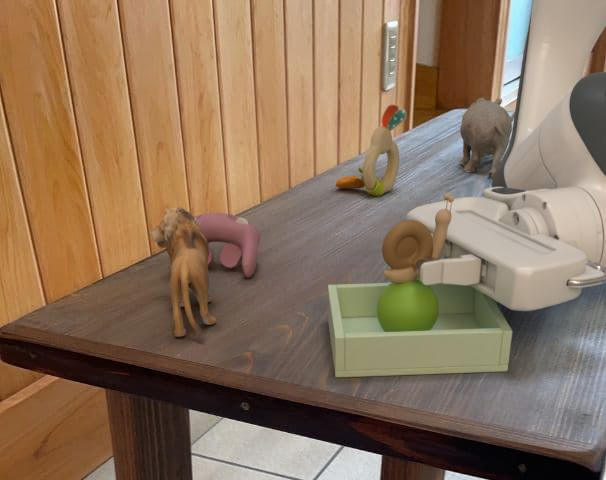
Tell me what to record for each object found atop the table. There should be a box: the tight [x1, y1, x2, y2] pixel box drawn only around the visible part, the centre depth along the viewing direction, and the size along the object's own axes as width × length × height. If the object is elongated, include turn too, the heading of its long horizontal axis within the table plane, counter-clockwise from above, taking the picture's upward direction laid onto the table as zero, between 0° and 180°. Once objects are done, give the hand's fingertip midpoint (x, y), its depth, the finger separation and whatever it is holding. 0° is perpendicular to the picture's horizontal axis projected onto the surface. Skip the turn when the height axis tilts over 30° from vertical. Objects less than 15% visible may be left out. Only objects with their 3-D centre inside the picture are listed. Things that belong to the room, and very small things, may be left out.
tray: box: [327, 282, 513, 378], centre depth 76 cm, size 15×13×4 cm
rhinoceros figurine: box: [459, 97, 515, 179], centre depth 128 cm, size 8×14×15 cm
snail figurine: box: [377, 193, 455, 332], centre depth 73 cm, size 5×6×12 cm
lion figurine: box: [149, 206, 217, 339], centre depth 82 cm, size 15×5×9 cm, turn 15°
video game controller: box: [168, 212, 261, 279], centre depth 94 cm, size 10×5×7 cm, turn 80°
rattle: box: [335, 104, 408, 197], centre depth 118 cm, size 8×8×12 cm
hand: (406, 265), depth 72 cm, fingers open, 3 cm apart
